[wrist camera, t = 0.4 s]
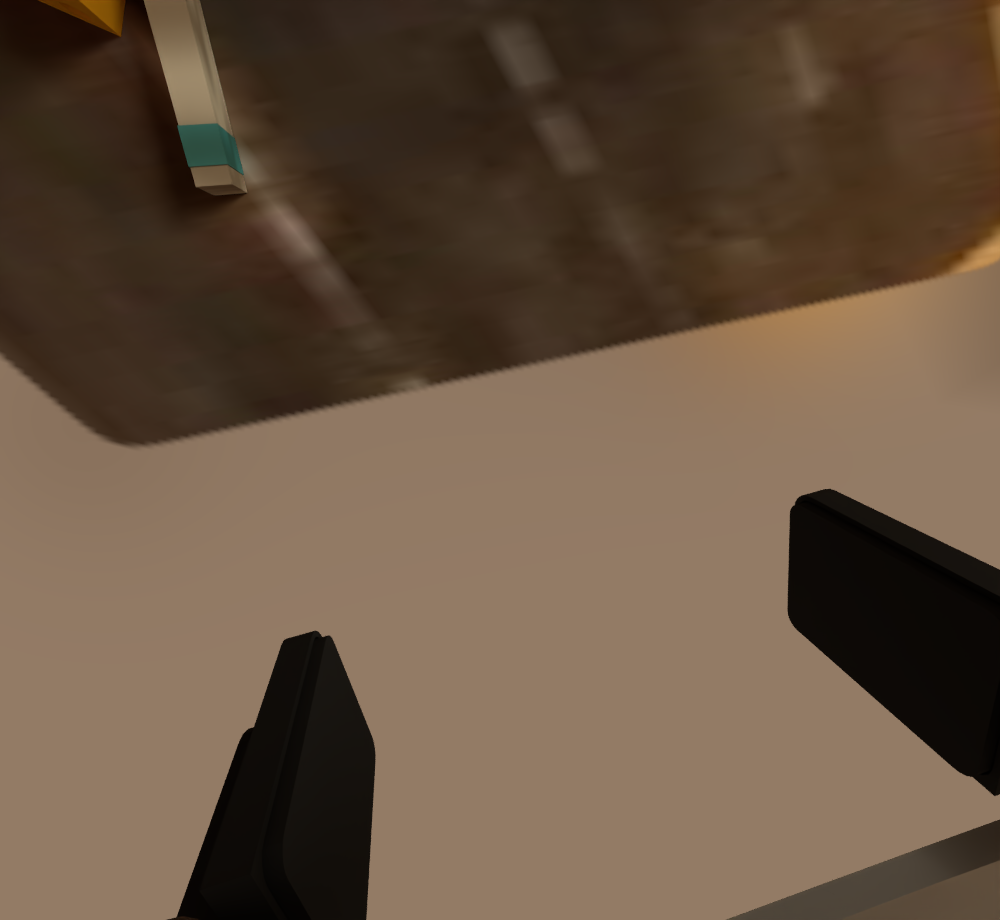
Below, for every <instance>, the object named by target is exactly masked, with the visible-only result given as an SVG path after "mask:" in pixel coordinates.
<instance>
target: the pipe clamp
mask: <svg viewBox="0 0 1000 920" xmlns="http://www.w3.org/2000/svg"><path fill="white" fill-rule="evenodd" d="M38 1H40V2H43V3H45V4H47V5H50V6H52V7H54V8H56V9H59V10H61V11H63V12H65V13H68V14H70V15H72V16H74V17H77V18H79V19H81V20H84V21H86V22H88V23H90V24H93V25H95V26H97V27H99V28H102V29H104V30H106V31H108V32H111V33H113V34H115V35H118V36H120V37H121V33H122V25H123V17H124V9H125V1H126V0H38Z"/></svg>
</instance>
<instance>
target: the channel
mask: <svg viewBox="0 0 1000 920" xmlns="http://www.w3.org/2000/svg"><path fill="white" fill-rule="evenodd" d="M144 3H145V7H146V10H147V14H148V18H149V21H150V25H151V28H152V32H153V35H154V39H155V43H156V46H157V50H158V53H159V57H160V60H161V64H162V68H163V71H164V75H165V78H166V82H167V86H168V89H169V93H170V96H171V100H172V103H173V107H174V111H175V114H176V118H177V121H178V126H177V127H178V131H179V134H180V138H181V141H182V145H183V148H184V152H185V156H186V159H187V163H188V166H189V167H190V168H191V171H192V175H193V179H194V182H195V186H196V187H197V188H199V189H201V190H204V191H206V192H208V193H210V194H212V195H227V194H240V193H247V189H246V185H245V181H244V177H243V175H244V174H243V170H242V166H241V162H240V158H239V154H238V150H237V146H236V141H235V138H234V137H233V133H232V129H231V125H230V121H229V117H228V113H227V109H226V105H225V101H224V97H223V93H222V88H221V84H220V80H219V76H218V72H217V68H216V64H215V60H214V56H213V52H212V48H211V44H210V40H209V36H208V32H207V28H206V24H205V20H204V16H203V12H202V8H201V4H200V0H144Z"/></svg>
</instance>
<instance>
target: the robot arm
mask: <svg viewBox="0 0 1000 920" xmlns="http://www.w3.org/2000/svg"><path fill="white" fill-rule="evenodd" d="M788 575H789V576H788V616H789V618H790V621H791V623H792V624H793V626H794V627H795V628H796V629H797V630H798V631H799V632H800V633H801V634H802V635H803V636H805V637H806V638H807V639H808V640H809V641H810V642H811V643H813V644H814V645H815V646H816V647H817V648H818V649H819V650H820V651H822V652H823V653H824V654H825V655H826V656H827V657H829V658H830V659H831V660H832V661H833V662H834V663H835V664H836V665H837V666H839V667H840V668H841V669H842V670H843V671H844V672H845V673H847V674H848V675H849V676H850V677H851V678H852V679H853V680H854V681H856V682H857V683H858V684H859V685H860V686H861V687H862V688H864V689H865V690H866V691H867V692H868V693H869V694H870V695H872V696H873V697H874V698H875V699H876V700H877V701H878V702H879V703H881V704H882V705H883V706H884V707H885V708H886V709H887V710H889V711H890V712H891V713H892V714H893V715H894V716H895V717H896V718H898V719H899V720H900V721H901V722H902V723H903V724H904V725H906V726H907V727H908V728H909V729H910V730H911V731H912V732H913V733H915V734H916V735H917V736H918V737H919V738H920V739H921V740H923V741H924V742H925V743H926V744H927V745H928V746H930V747H931V748H932V749H933V750H934V751H935V752H936V753H937V754H938V755H940V756H941V757H942V758H943V759H944V760H945V761H946V762H948V763H949V764H950V765H951V766H952V767H953V768H955V769H956V770H957V771H959V772H960V773H962V774H964V775H966V776H970V777H973V778H974V779H976V780H977V781H978V782H979V783H980V784H982V785H983V786H984V787H985V788H986V789H987V790H988V791H989V792H991V793H992V794H993V795H994V796H996V795H999V794H1000V570H999V569H997V568H995V567H993V566H991V565H989V564H987V563H984V562H982V561H980V560H978V559H976V558H974V557H972V556H970V555H968V554H966V553H964V552H961V551H960V550H957V549H955V548H953V547H951V546H949V545H947V544H945V543H943V542H941V541H939V540H937V539H935V538H933V537H930V536H928V535H926V534H924V533H922V532H920V531H918V530H916V529H914V528H912V527H909V526H907V525H906V524H903V523H901V522H899V521H897V520H895V519H893V518H891V517H889V516H887V515H885V514H883V513H880V512H878V511H876V510H874V509H872V508H870V507H868V506H866V505H864V504H862V503H860V502H858V501H856V500H854V499H851V498H849V497H847V496H845V495H843V494H841V493H839V492H837V491H835V490H831V489H824V490H820V491H817V492H813V493H810V494H806V495H802V496H800V497H799V498H798V499H797V500H796V502H795V505H794V506H793V507H792V508H791V511H790V535H789V573H788ZM374 776H375V747H374V742H373V738H372V735H371V733H370V730H369V728H368V725H367V723H366V720H365V718H364V716H363V713H362V710H361V708H360V706H359V703H358V701H357V698H356V696H355V693H354V691H353V688H352V686H351V683H350V681H349V678H348V676H347V673H346V671H345V668H344V666H343V664H342V661H341V658H340V656H339V654H338V651H337V649H336V646H335V644H334V641H333V639H332V638H331V637H330V636H325V637H322V636H321V634H320V633H319V632H318V631H313V632H309V633H306V634H302V635H299V636H295V637H291V638H288V639H285V640H284V641H283V643H282V645H281V648H280V651H279V654H278V657H277V660H276V663H275V666H274V669H273V672H272V675H271V678H270V681H269V684H268V687H267V690H266V693H265V696H264V699H263V702H262V705H261V708H260V711H259V714H258V717H257V720H256V723H255V726H254V727H253V728H250V729H248V730H247V731H246V732H245V733H244V734H243V735H242V737H241V739H240V741H239V744H238V746H237V749H236V752H235V755H234V758H233V760H232V763H231V766H230V769H229V772H228V774H227V777H226V780H225V783H224V786H223V788H222V791H221V794H220V797H219V800H218V803H217V805H216V808H215V811H214V814H213V816H212V819H211V822H210V825H209V828H208V831H207V834H206V836H205V839H204V842H203V845H202V847H201V850H200V853H199V856H198V859H197V862H196V864H195V867H194V870H193V873H192V875H191V878H190V881H189V884H188V887H187V889H186V892H185V895H184V898H183V901H182V903H181V906H180V909H179V912H178V915H177V917H176V918H172V919H168V920H366V914H367V897H368V896H367V895H368V879H369V862H370V845H371V828H372V810H373V809H372V808H373V793H374ZM727 920H1000V820H997V821H994V822H992V823H989V824H986V825H983V826H981V827H978V828H975V829H972V830H970V831H967V832H964V833H961V834H959V835H956V836H953V837H950V838H948V839H945V840H942V841H939V842H936V843H934V844H931V845H928V846H925V847H922V848H920V849H917V850H914V851H912V852H909V853H906V854H904V855H901V856H898V857H895V858H893V859H890V860H887V861H884V862H882V863H879V864H877V865H873V866H871V867H868V868H865V869H863V870H860V871H857V872H855V873H852V874H849V875H846V876H844V877H841V878H838V879H835V880H833V881H830V882H827V883H824V884H822V885H819V886H816V887H814V888H811V889H808V890H805V891H803V892H800V893H797V894H795V895H792V896H789V897H786V898H784V899H781V900H778V901H776V902H773V903H770V904H768V905H765V906H762V907H759V908H757V909H754V910H751V911H749V912H746V913H743V914H740V915H738V916H736V917H732V918H730V919H727Z"/></svg>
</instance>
